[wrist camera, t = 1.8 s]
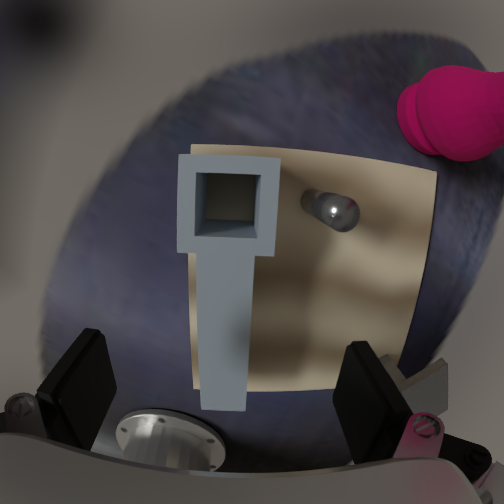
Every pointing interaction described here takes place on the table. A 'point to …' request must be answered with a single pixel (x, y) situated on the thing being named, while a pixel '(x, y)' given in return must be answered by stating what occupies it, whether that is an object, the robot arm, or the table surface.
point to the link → (225, 269)
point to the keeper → (422, 386)
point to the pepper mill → (454, 113)
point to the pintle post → (331, 209)
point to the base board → (325, 264)
